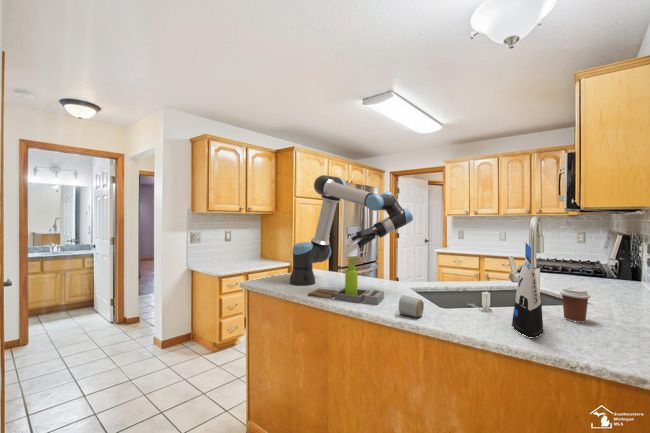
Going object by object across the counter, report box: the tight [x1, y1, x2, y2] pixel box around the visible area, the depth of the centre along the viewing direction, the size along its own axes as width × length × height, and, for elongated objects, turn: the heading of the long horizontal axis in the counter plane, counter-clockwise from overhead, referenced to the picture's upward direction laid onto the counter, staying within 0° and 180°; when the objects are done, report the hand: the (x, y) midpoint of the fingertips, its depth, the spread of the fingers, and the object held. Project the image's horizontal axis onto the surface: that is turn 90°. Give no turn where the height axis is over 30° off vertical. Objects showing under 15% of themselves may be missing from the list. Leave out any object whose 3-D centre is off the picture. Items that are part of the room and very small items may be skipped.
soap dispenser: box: [344, 256, 361, 296], centre depth 147 cm, size 6×7×20 cm
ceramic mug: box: [398, 294, 425, 318], centre depth 124 cm, size 11×8×8 cm
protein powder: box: [511, 242, 544, 338], centre depth 110 cm, size 10×24×30 cm, turn 150°
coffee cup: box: [559, 286, 591, 323], centre depth 118 cm, size 9×9×12 cm
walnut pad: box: [307, 288, 339, 300], centre depth 154 cm, size 12×12×1 cm
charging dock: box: [334, 287, 385, 306], centre depth 146 cm, size 13×20×4 cm, turn 64°
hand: (346, 247), depth 152 cm, fingers open, 13 cm apart
